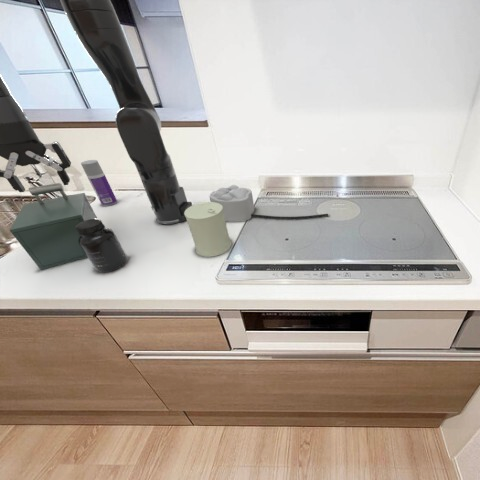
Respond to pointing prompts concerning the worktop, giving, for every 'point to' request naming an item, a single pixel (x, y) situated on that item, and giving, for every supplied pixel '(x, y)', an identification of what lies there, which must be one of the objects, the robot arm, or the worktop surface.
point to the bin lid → (48, 208)
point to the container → (99, 182)
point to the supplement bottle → (100, 245)
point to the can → (208, 228)
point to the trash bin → (55, 241)
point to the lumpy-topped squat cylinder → (234, 202)
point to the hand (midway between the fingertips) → (45, 187)
